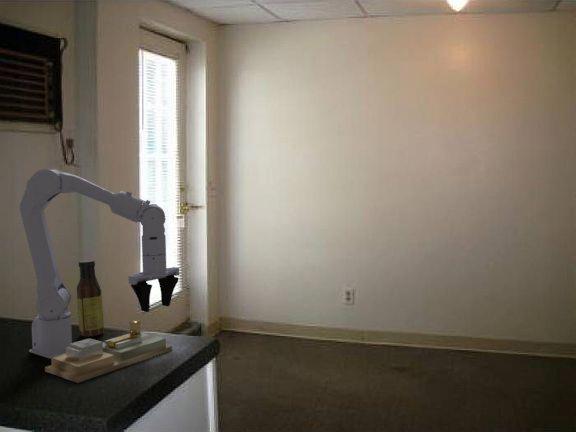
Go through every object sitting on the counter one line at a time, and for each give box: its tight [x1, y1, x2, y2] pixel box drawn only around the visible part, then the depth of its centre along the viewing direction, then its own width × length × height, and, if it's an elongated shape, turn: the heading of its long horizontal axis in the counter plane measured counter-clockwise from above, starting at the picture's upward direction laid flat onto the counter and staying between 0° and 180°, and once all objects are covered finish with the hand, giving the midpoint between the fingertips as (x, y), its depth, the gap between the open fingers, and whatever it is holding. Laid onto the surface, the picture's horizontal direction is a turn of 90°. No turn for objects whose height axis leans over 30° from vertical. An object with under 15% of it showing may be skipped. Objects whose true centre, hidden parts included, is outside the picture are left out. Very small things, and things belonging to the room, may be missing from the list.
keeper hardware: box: [66, 333, 142, 362], centre depth 133 cm, size 5×17×3 cm, turn 144°
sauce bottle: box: [76, 259, 105, 338], centre depth 155 cm, size 7×6×20 cm
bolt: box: [107, 319, 142, 347], centre depth 137 cm, size 2×8×4 cm, turn 144°
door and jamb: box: [44, 332, 173, 384], centre depth 134 cm, size 12×26×3 cm, turn 144°
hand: (155, 308), depth 144 cm, fingers open, 6 cm apart
